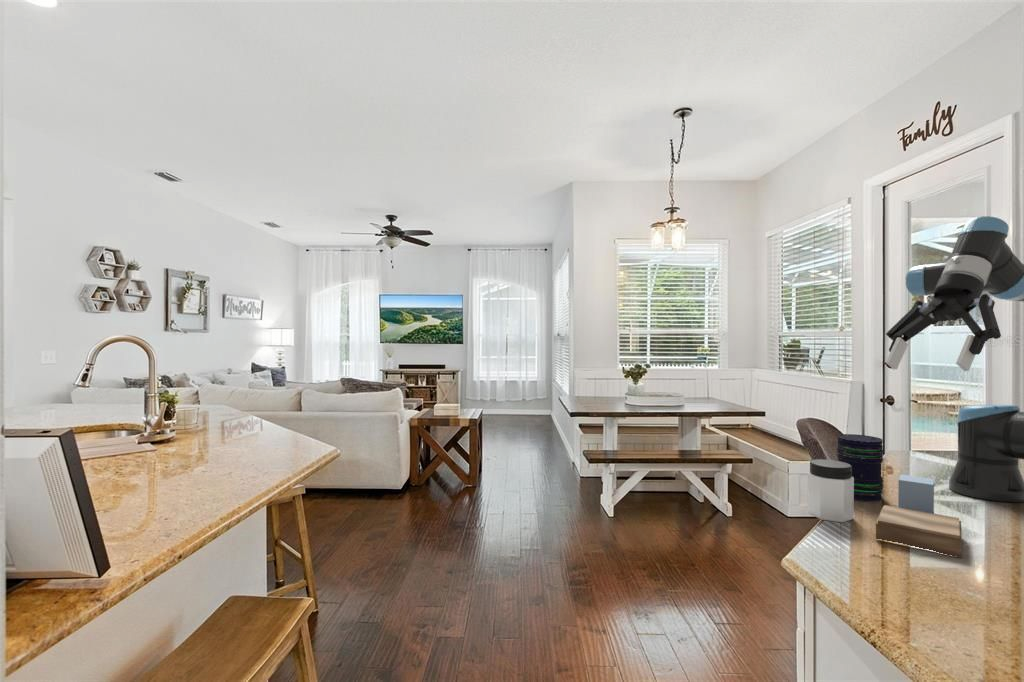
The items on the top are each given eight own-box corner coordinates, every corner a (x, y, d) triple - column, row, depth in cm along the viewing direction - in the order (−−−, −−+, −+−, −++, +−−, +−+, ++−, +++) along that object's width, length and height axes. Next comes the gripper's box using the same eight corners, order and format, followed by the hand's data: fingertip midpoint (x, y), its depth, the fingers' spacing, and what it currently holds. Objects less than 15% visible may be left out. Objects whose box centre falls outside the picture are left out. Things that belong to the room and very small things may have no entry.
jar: (840, 525, 112) (840, 470, 112) (801, 514, 119) (802, 462, 118) (859, 517, 117) (859, 464, 117) (821, 507, 123) (821, 457, 123)
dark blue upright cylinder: (841, 499, 130) (841, 440, 130) (832, 488, 139) (832, 433, 139) (888, 504, 126) (889, 442, 126) (876, 492, 135) (876, 435, 135)
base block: (882, 522, 113) (882, 504, 113) (960, 537, 105) (961, 517, 105) (875, 540, 103) (875, 520, 103) (961, 558, 95) (961, 536, 95)
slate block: (900, 513, 120) (900, 474, 120) (933, 519, 116) (934, 478, 116) (898, 520, 115) (898, 479, 115) (932, 526, 111) (933, 484, 111)
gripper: (891, 280, 120) (855, 356, 116) (1025, 261, 96) (985, 356, 92) (911, 298, 122) (876, 374, 118) (1047, 284, 98) (1009, 379, 94)
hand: (924, 366), depth 105 cm, fingers open, 13 cm apart
